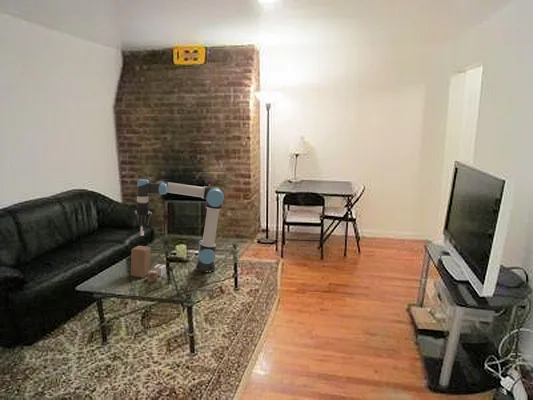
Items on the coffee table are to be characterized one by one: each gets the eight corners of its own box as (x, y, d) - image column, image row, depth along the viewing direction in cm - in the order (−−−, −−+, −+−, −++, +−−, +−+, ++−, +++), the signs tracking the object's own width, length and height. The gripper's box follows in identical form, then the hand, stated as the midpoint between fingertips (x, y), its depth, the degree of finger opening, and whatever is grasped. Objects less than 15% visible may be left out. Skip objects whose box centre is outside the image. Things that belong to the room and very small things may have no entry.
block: (143, 278, 257) (144, 250, 254) (130, 276, 259) (130, 248, 255) (150, 273, 266) (151, 246, 263) (137, 271, 268) (138, 245, 265)
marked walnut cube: (157, 278, 259) (157, 269, 258) (157, 281, 253) (157, 273, 252) (148, 278, 258) (148, 270, 257) (147, 281, 252) (148, 273, 251)
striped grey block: (165, 273, 270) (165, 264, 269) (161, 276, 263) (161, 268, 262) (158, 271, 271) (158, 263, 270) (153, 275, 264) (153, 266, 263)
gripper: (153, 201, 258) (153, 234, 262) (135, 200, 258) (134, 233, 262) (150, 203, 250) (149, 237, 254) (131, 202, 251) (130, 236, 254)
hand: (142, 235), depth 258 cm, fingers closed
